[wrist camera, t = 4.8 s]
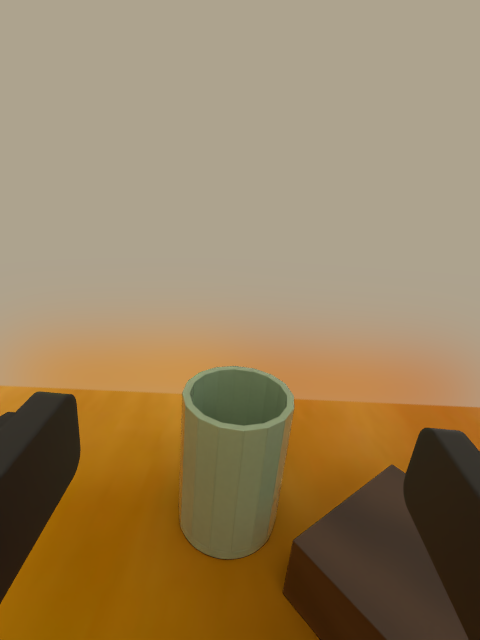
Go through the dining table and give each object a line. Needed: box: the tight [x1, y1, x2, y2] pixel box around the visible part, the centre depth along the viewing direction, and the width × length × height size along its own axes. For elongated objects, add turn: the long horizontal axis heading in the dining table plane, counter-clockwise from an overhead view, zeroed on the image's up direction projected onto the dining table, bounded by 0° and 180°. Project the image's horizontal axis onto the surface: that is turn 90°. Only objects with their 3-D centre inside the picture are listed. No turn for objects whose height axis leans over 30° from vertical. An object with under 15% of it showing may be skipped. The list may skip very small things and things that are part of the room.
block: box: [283, 465, 469, 640], centre depth 18 cm, size 9×9×4 cm
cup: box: [179, 366, 294, 559], centre depth 22 cm, size 6×6×9 cm
